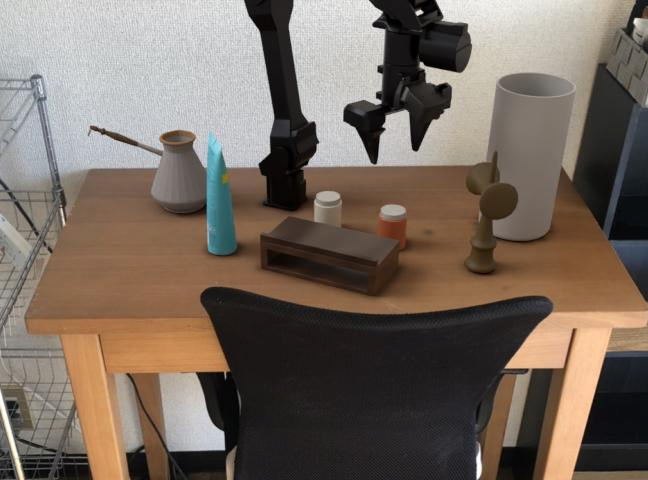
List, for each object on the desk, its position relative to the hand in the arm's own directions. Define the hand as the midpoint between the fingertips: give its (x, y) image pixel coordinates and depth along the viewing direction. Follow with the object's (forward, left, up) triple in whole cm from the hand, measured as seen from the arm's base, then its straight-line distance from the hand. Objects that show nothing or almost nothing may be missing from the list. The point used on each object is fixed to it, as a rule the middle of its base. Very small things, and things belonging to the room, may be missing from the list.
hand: (394, 157), depth 140 cm
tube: (-23, -18, -14) cm, 33 cm away
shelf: (-4, -16, -14) cm, 22 cm away
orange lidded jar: (+2, -4, -14) cm, 14 cm away
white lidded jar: (-10, -4, -14) cm, 17 cm away
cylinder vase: (+19, +12, -14) cm, 26 cm away
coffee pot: (-43, -9, -14) cm, 46 cm away
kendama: (+18, -5, -14) cm, 23 cm away
